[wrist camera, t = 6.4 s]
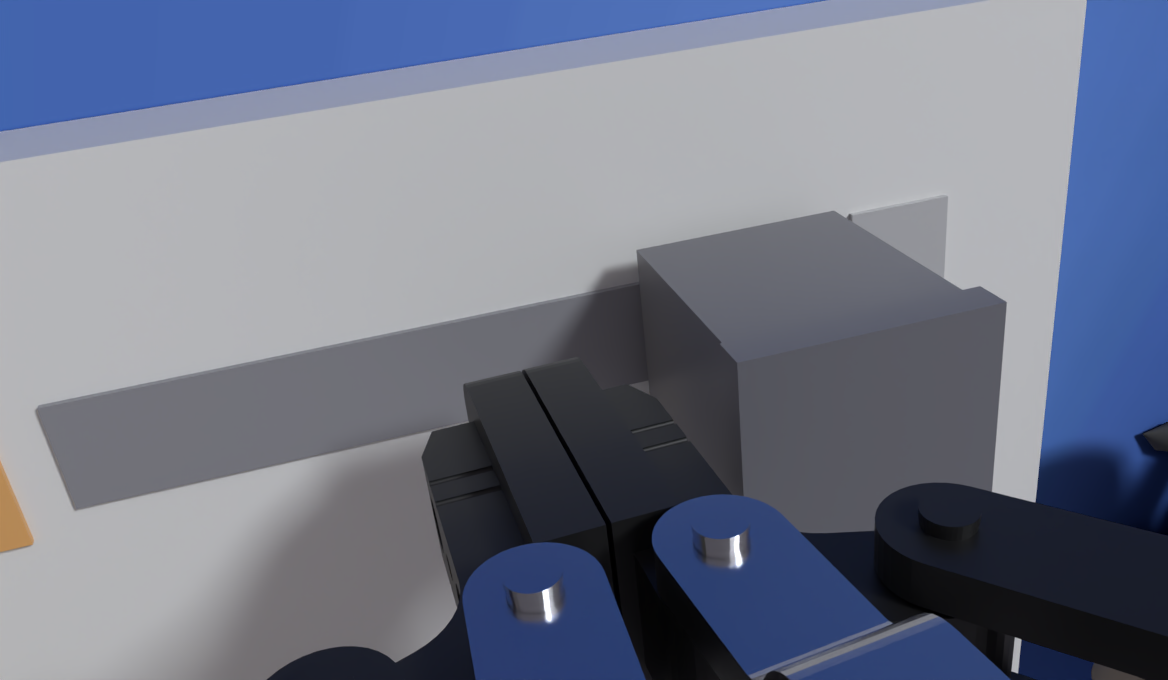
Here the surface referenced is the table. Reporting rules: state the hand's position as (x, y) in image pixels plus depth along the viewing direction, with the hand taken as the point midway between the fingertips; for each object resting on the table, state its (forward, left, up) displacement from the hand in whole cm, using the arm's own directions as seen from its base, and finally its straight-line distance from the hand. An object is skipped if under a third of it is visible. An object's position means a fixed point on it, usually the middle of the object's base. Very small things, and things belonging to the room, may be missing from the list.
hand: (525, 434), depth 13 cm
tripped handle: (-4, 0, -2) cm, 4 cm away
